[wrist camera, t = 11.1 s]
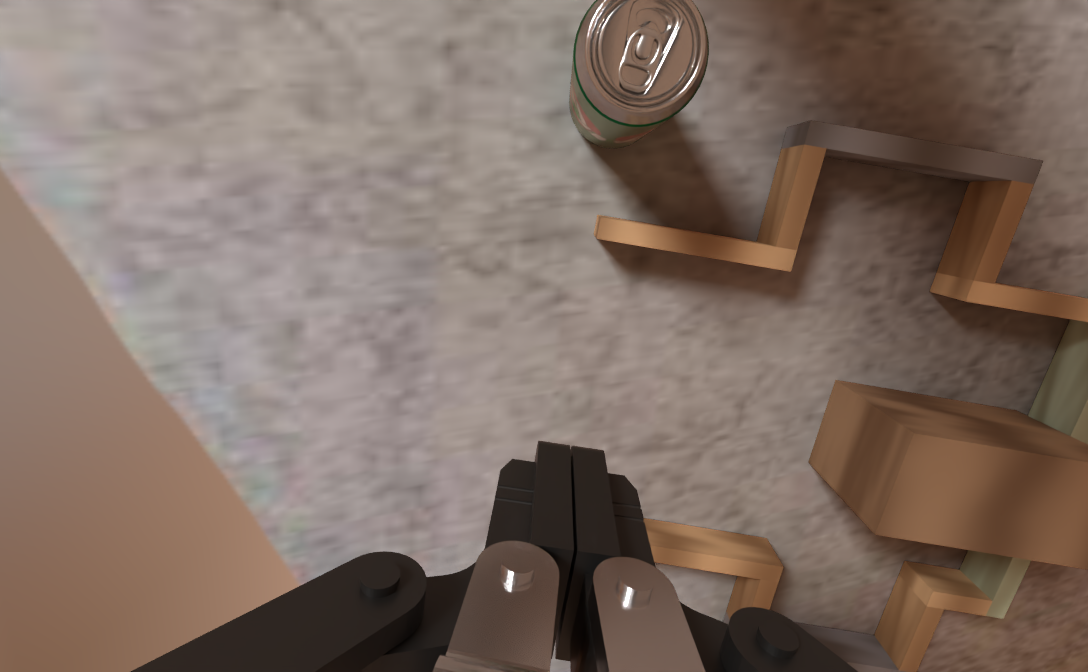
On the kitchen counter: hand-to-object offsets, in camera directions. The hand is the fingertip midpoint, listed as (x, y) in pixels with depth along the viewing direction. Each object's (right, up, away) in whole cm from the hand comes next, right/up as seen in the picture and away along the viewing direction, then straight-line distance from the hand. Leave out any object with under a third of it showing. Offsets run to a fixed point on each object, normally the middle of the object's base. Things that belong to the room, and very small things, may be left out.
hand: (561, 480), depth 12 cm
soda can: (+4, +17, +19) cm, 25 cm away
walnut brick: (+24, -3, +23) cm, 34 cm away
